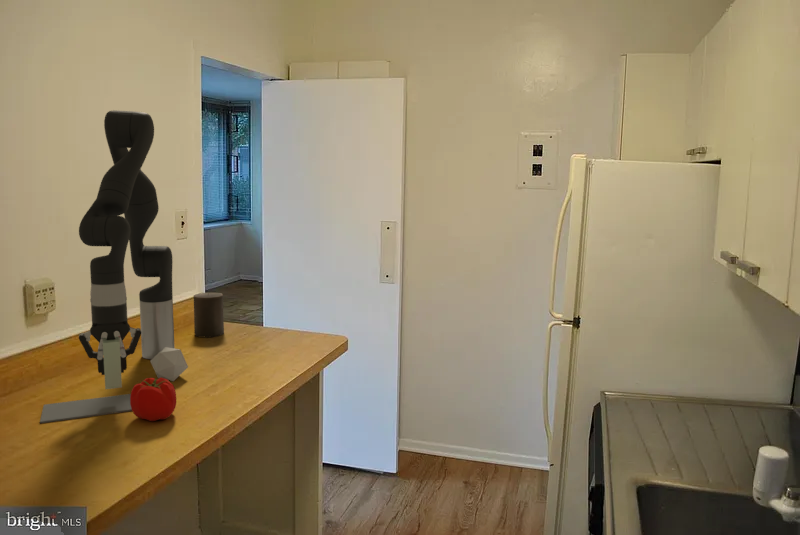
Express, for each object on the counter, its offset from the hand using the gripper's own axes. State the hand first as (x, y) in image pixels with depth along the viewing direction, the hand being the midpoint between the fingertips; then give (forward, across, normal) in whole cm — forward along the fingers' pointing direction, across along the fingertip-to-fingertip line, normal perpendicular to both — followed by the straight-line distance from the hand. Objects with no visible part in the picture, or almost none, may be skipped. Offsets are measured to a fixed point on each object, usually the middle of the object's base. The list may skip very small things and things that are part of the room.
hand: (112, 372), depth 147 cm
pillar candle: (+8, -31, -59) cm, 67 cm away
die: (+8, -14, -16) cm, 22 cm away
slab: (+3, 0, 0) cm, 3 cm away
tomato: (+8, -8, +11) cm, 16 cm away
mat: (+8, +5, 0) cm, 10 cm away
